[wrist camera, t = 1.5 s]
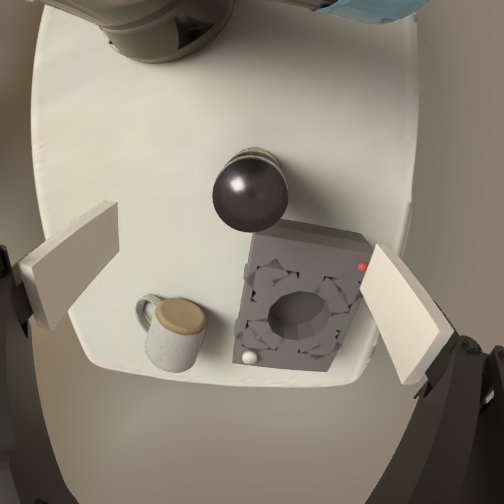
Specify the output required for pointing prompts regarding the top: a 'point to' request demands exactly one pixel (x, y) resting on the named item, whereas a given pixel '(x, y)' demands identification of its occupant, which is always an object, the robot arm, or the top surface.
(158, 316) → the ceramic mug
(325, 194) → the top surface
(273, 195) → the lens
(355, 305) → the box with round hole
